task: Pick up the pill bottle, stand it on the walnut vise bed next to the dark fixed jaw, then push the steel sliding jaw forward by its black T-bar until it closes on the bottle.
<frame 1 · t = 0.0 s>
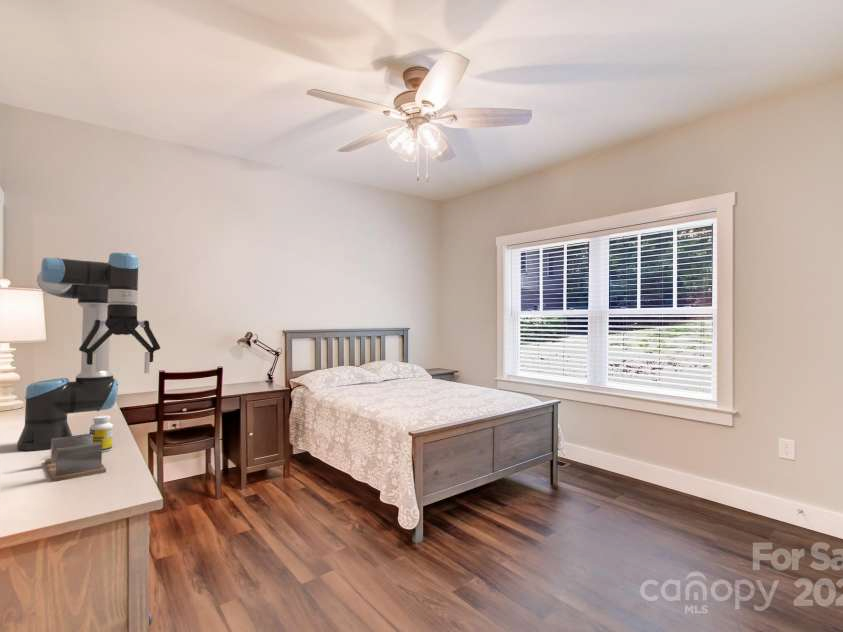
hand: (120, 374, 134), 28 cm above the table, fingers open, 13 cm apart
pill bottle: (100, 451, 152), on the table
sliding jaw: (71, 446, 140), point 4 cm above the table, slide at 0.0 cm, touching vise bed
vise bed: (74, 467, 134), on the table
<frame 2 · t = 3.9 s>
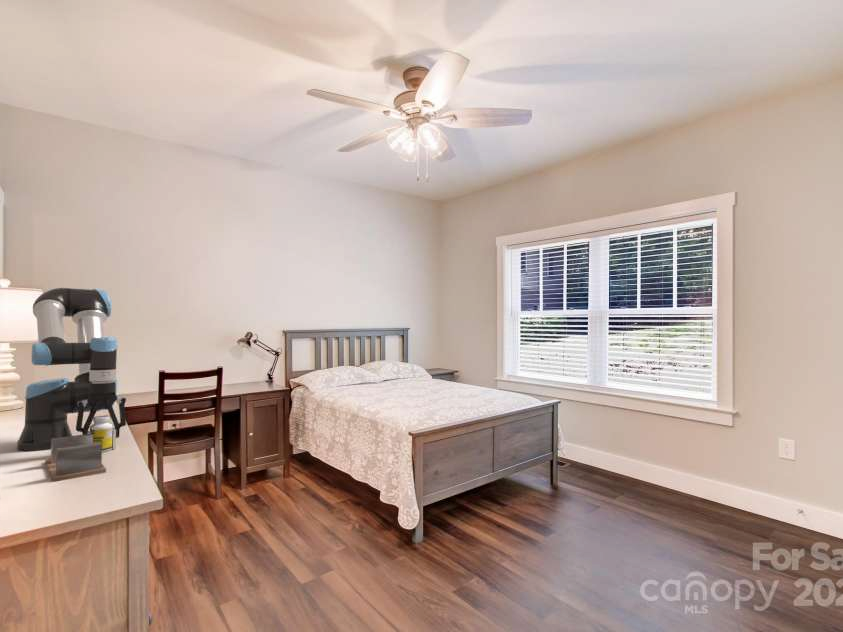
hand: (100, 449, 152), 0 cm above the table, fingers closed on pill bottle, 6 cm apart
pill bottle: (100, 451, 152), on the table, touching gripper
everything else where it was.
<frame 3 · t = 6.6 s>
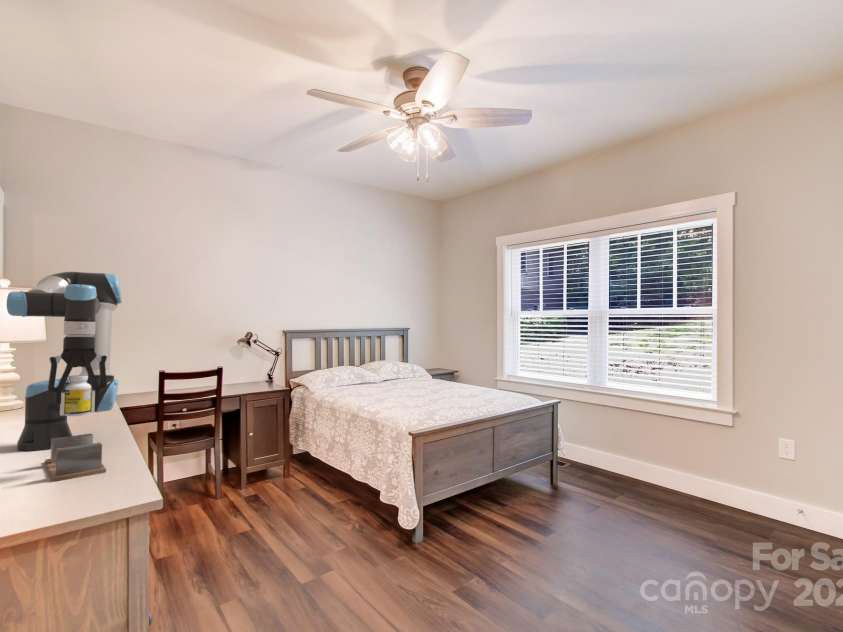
hand: (77, 413, 132), 17 cm above the table, fingers closed on pill bottle, 6 cm apart
pill bottle: (77, 415, 132), point 16 cm above the table, touching gripper
everything else where it was.
when the fingers open (3 cm above the table, at t = 9.4 s): pill bottle drops 1 cm, resting on vise bed.
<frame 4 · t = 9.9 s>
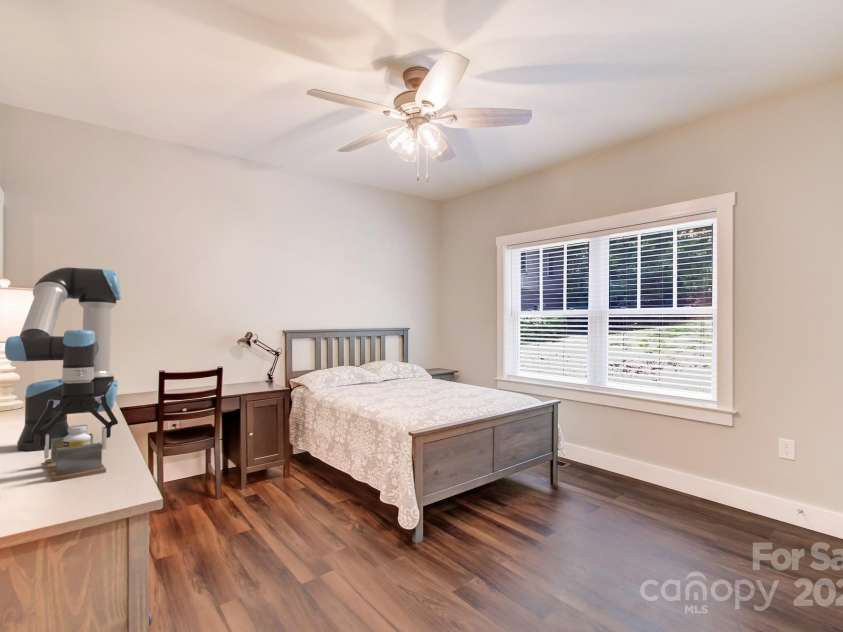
hand: (76, 453, 132), 5 cm above the table, fingers open, 13 cm apart
pill bottle: (76, 466, 132), point 1 cm above the table, touching vise bed
everything else where it was.
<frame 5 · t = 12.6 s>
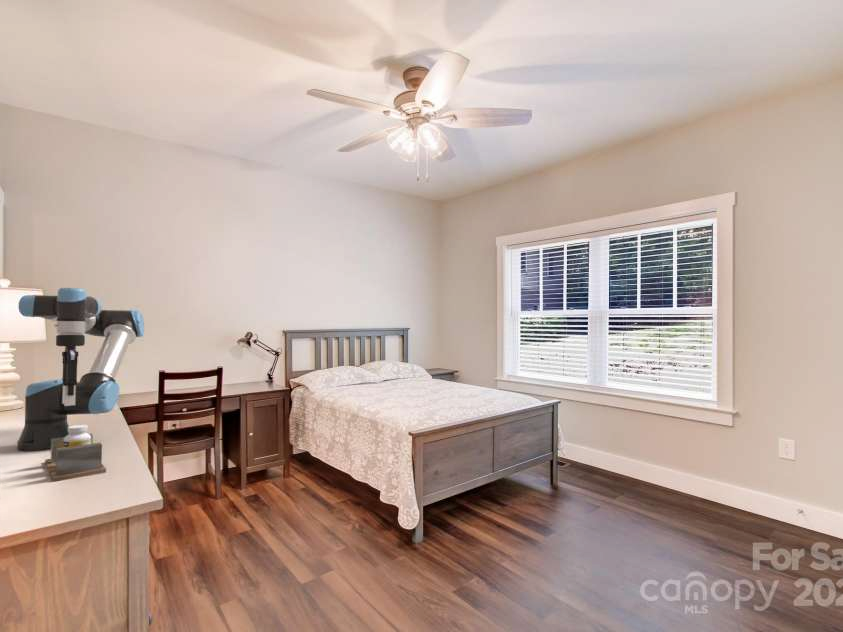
hand: (68, 404, 147), 17 cm above the table, fingers open, 5 cm apart
nothing on the table moved.
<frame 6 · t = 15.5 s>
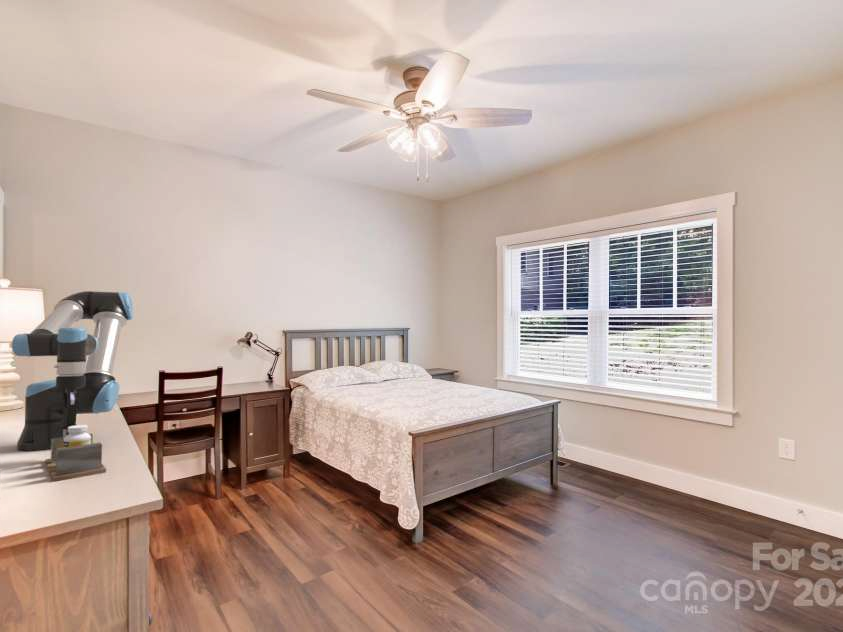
hand: (68, 448, 143), 3 cm above the table, fingers closed
sliding jaw: (71, 446, 140), point 4 cm above the table, slide at 0.1 cm, touching gripper, vise bed
everything else where it was.
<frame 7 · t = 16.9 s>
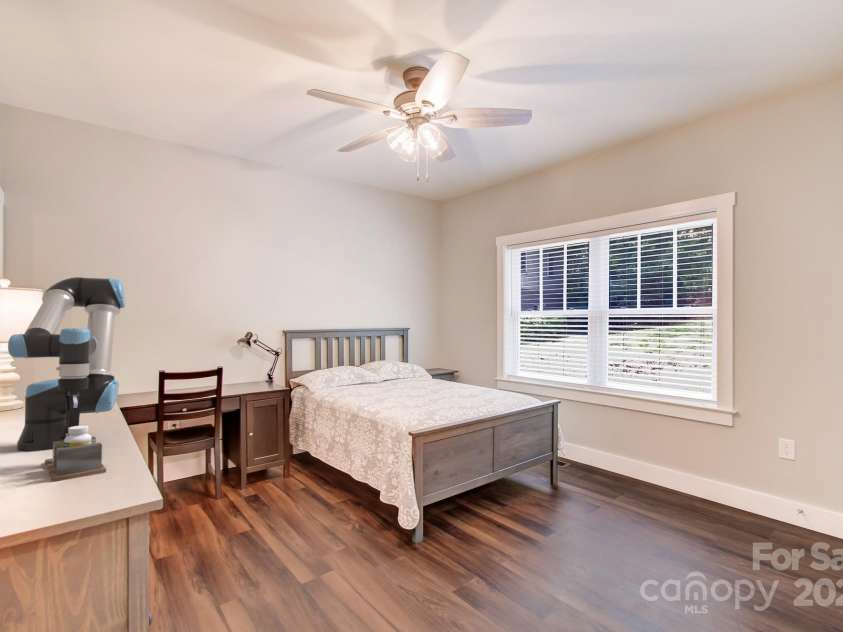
hand: (71, 452, 139), 3 cm above the table, fingers closed
pill bottle: (77, 467, 131), point 1 cm above the table, touching sliding jaw, vise bed
sliding jaw: (73, 450, 136), point 4 cm above the table, slide at 5.8 cm, touching gripper, pill bottle, vise bed
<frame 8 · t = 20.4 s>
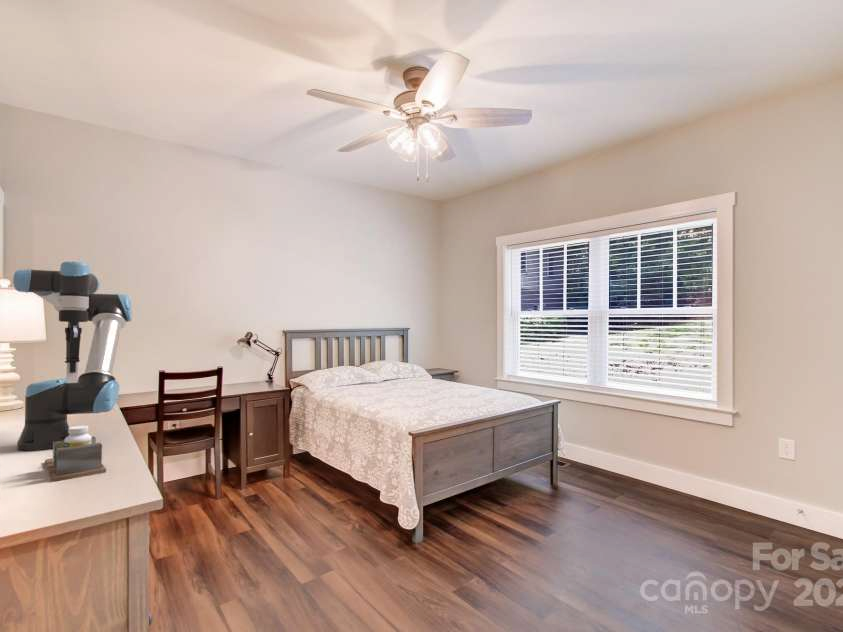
hand: (71, 382, 143), 24 cm above the table, fingers closed
pill bottle: (77, 467, 131), point 1 cm above the table, touching vise bed
sliding jaw: (73, 450, 136), point 4 cm above the table, slide at 5.9 cm, touching vise bed
at the end: pill bottle inside the target area (0.2 cm from its centre), point 0.8 cm above the table; pill bottle tilted 0°; sliding jaw slide at 5.9 cm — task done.
